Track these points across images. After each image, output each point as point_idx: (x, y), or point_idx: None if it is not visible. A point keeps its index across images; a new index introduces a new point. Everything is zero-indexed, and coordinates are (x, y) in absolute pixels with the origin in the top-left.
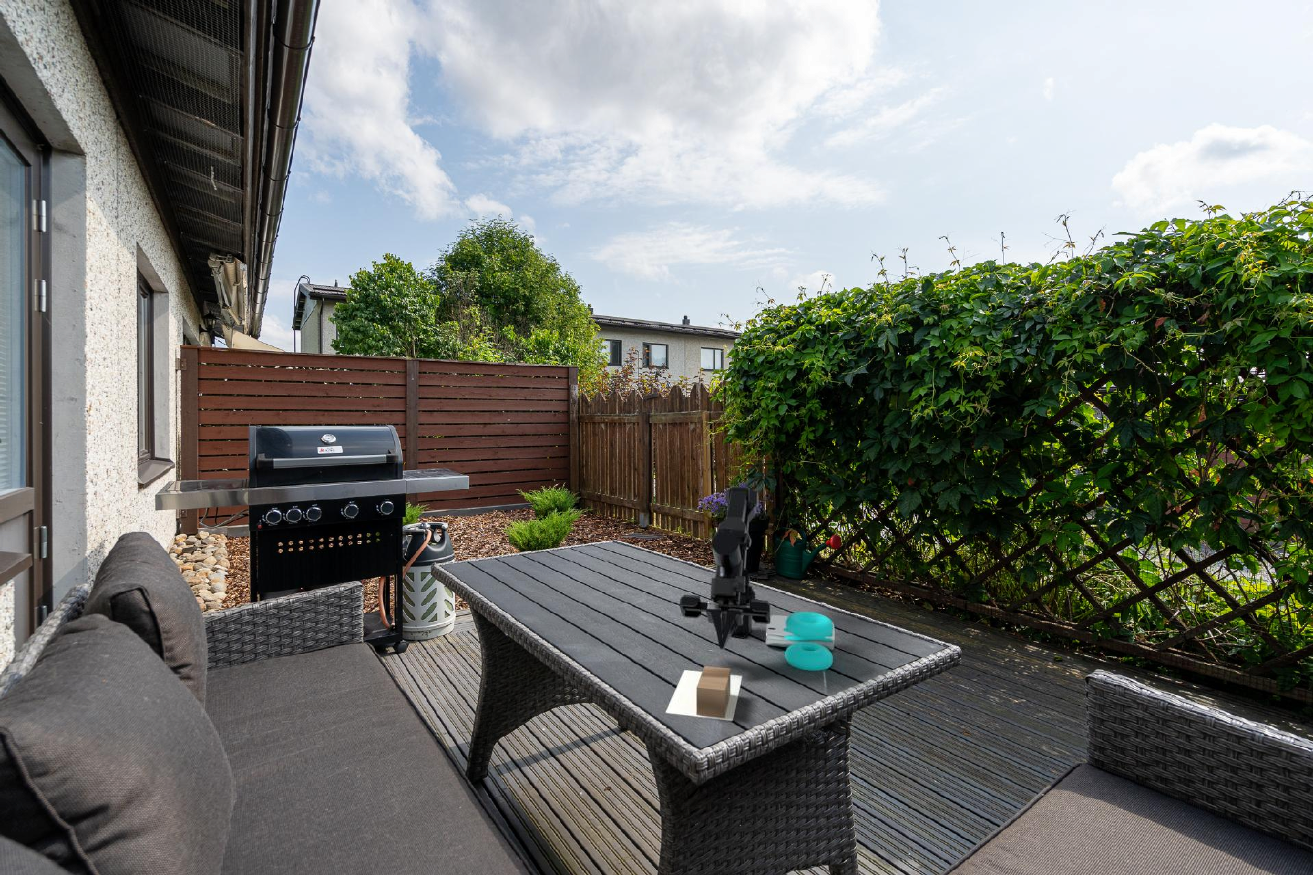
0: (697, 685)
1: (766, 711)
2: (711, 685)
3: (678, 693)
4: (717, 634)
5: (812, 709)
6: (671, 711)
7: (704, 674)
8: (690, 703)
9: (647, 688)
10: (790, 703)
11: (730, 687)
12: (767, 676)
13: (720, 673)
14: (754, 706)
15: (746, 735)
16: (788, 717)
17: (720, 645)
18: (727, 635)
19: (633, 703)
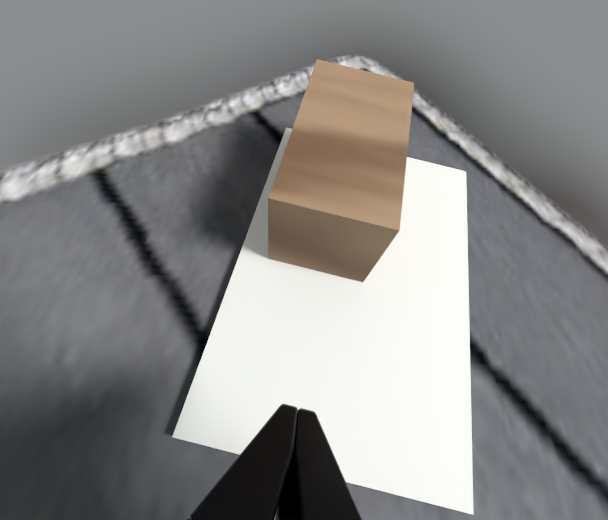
0: (412, 93)
1: (170, 177)
2: (362, 86)
3: (452, 272)
4: (349, 509)
5: (8, 177)
6: (451, 175)
7: (392, 158)
8: (404, 210)
9: (569, 335)
10: (63, 214)
11: (258, 312)
12: (26, 466)
13: (322, 161)
14: (199, 204)
15: (260, 94)
16: (116, 146)
17: (306, 418)
18: (225, 475)
19: (568, 238)
